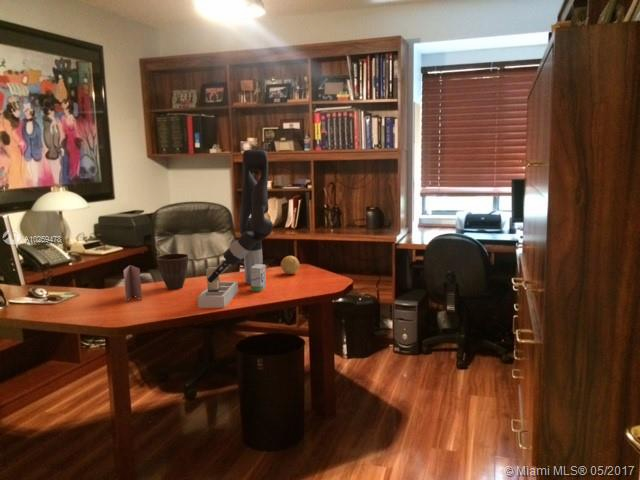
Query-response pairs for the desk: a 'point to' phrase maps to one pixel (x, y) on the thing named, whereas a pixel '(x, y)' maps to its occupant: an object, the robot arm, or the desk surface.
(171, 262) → the plant pot
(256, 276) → the ink box
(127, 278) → the greeting card
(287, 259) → the stress ball
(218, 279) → the tall wooden block
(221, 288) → the grey compartment tray
